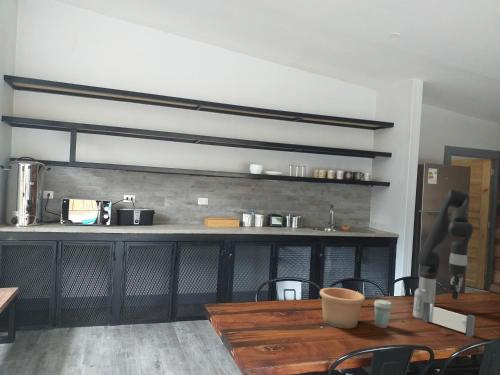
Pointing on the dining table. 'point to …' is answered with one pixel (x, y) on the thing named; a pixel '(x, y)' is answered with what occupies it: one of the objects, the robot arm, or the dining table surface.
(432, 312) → the gate leaf
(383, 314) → the coffee cup
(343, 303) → the pottery
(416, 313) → the energy drink can
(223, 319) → the dining table surface
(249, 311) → the dining table surface
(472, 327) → the gate frame
